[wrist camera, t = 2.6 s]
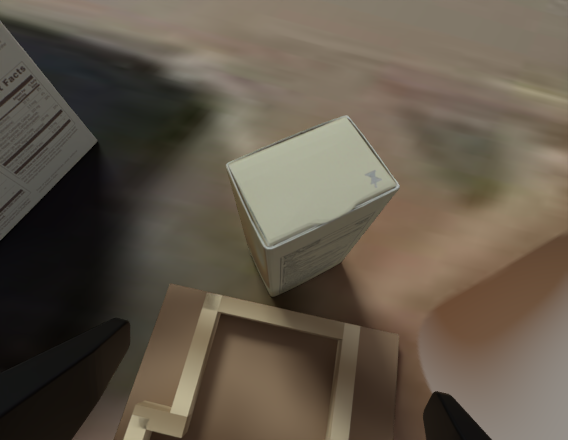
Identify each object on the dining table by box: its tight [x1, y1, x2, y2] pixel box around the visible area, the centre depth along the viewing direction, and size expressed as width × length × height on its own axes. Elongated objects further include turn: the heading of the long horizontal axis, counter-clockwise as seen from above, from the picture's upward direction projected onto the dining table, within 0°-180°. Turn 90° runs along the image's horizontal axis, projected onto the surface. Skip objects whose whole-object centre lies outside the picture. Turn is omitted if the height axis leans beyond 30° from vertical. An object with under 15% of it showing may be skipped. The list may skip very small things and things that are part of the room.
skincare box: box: [226, 116, 400, 297], centre depth 18 cm, size 6×4×12 cm
